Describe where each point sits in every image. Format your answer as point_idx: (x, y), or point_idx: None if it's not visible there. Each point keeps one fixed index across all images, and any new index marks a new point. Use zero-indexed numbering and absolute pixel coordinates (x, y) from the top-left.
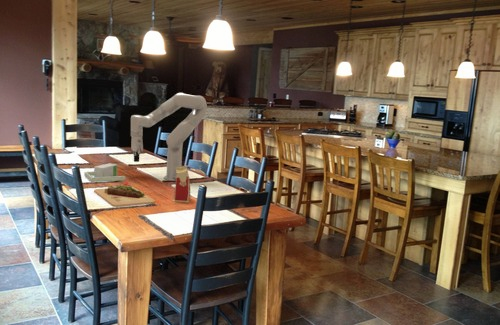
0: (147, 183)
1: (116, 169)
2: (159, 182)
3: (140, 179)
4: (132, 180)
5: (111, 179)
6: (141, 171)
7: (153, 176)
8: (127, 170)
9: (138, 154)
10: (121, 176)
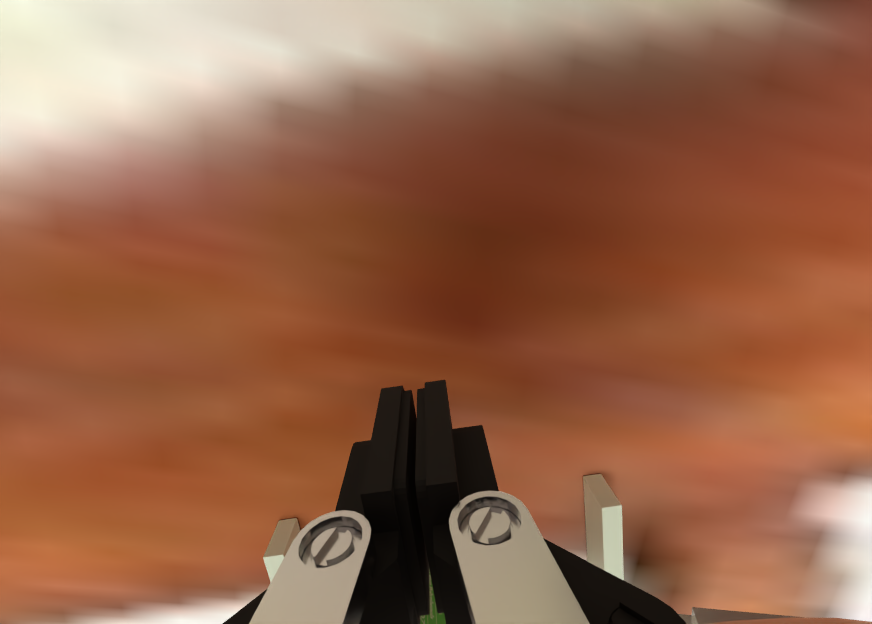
0: (834, 257)
1: (420, 620)
2: (837, 73)
3: (600, 299)
4: (633, 401)
5: None
6: (52, 173)
7: (435, 60)
8: (11, 367)
9: (598, 590)
10: (622, 545)
